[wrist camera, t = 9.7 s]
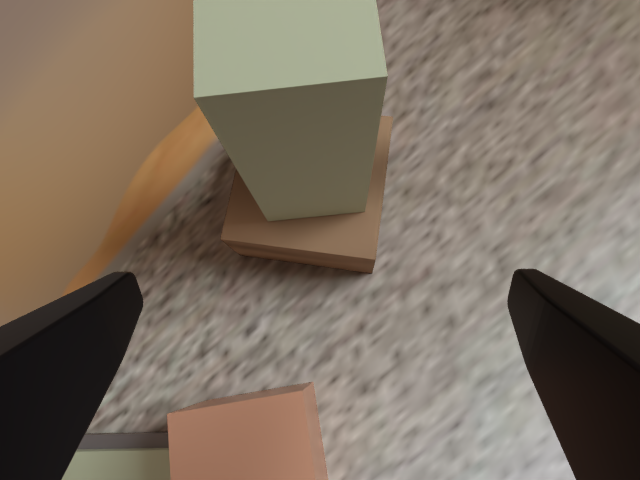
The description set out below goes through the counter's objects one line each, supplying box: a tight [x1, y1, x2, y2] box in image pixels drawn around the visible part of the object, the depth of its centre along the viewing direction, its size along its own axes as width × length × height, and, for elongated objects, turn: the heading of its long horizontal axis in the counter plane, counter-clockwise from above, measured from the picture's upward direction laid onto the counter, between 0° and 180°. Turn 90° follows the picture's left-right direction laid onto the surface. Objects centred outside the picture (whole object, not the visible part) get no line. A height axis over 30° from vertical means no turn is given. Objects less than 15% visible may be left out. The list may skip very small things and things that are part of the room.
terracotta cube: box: [167, 382, 328, 480], centre depth 19 cm, size 6×6×5 cm
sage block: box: [193, 0, 388, 221], centre depth 16 cm, size 5×5×10 cm
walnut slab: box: [220, 116, 393, 273], centre depth 23 cm, size 8×8×4 cm
